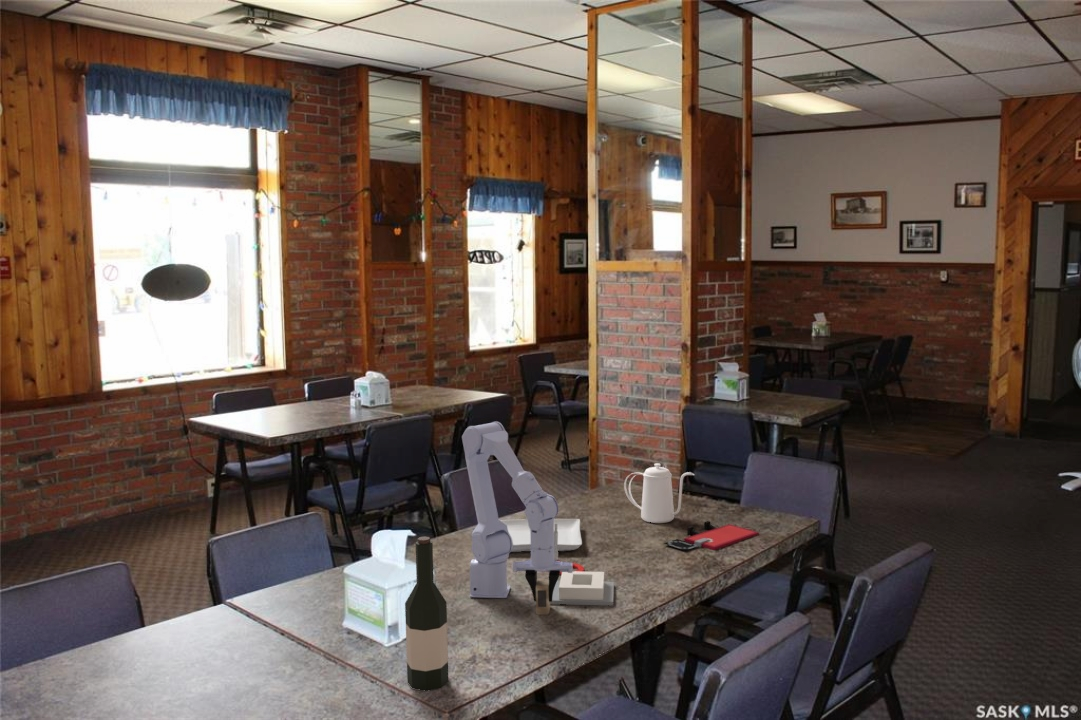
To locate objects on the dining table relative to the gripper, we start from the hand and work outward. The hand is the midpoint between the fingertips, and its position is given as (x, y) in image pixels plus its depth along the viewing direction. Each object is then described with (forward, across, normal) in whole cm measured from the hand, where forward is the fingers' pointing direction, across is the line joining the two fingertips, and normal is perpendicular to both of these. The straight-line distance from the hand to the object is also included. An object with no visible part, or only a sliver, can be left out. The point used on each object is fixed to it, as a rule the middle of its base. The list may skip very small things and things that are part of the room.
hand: (543, 600), depth 218 cm
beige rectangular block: (+3, 0, 0) cm, 3 cm away
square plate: (+3, -7, +55) cm, 56 cm away
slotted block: (+3, +9, +11) cm, 14 cm away
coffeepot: (+3, +31, +80) cm, 86 cm away
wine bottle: (+3, -20, -39) cm, 44 cm away
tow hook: (+3, +4, +29) cm, 29 cm away
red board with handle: (+3, +46, +59) cm, 75 cm away
